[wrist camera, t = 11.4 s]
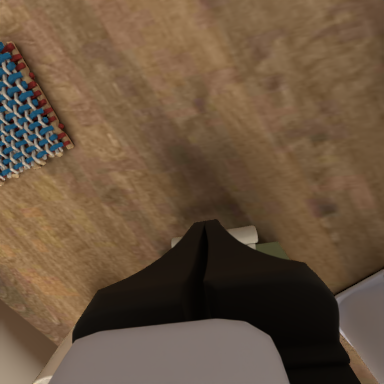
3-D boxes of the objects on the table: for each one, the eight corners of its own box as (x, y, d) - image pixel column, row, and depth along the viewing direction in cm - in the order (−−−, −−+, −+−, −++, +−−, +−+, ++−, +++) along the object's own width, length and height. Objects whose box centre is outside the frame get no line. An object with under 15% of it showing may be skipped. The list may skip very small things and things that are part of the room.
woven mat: (81, 148, 21) (69, 150, 19) (2, 187, 22) (-17, 192, 20) (20, 39, 18) (-3, 28, 16) (-65, 92, 20) (-94, 88, 18)
